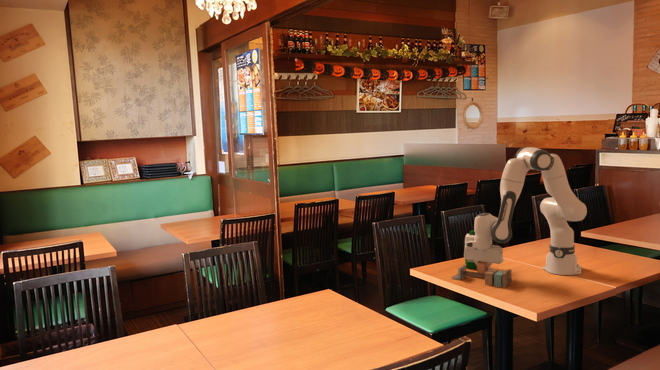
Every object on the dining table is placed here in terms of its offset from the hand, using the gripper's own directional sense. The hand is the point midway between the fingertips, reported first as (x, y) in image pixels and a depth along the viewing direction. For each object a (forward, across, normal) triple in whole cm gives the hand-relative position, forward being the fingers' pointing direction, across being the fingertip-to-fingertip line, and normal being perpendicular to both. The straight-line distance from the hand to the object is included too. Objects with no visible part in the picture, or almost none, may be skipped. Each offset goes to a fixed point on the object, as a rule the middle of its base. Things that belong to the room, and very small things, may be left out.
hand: (483, 269), depth 267 cm
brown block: (+3, -9, +11) cm, 15 cm away
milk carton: (+3, +10, -10) cm, 15 cm away
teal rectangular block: (+3, -13, +11) cm, 18 cm away
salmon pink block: (+2, 0, 0) cm, 2 cm away
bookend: (+3, +8, +12) cm, 15 cm away
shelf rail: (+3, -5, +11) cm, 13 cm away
